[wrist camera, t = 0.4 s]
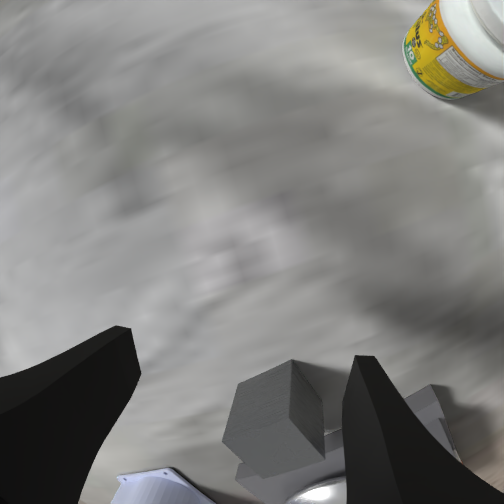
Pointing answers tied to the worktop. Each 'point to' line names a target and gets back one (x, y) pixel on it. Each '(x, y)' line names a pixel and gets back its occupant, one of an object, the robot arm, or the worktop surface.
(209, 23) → the worktop surface
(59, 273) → the worktop surface
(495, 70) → the supplement bottle
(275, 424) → the block
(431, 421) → the scale
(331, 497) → the pan
